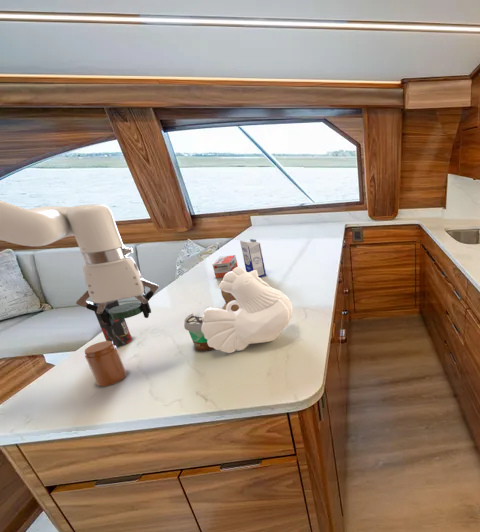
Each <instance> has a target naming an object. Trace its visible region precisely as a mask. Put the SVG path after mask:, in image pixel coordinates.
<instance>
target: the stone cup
mask: <svg viewBox="0 0 480 532" xmlns="http://www.w3.org/2000/svg"><path fill="white" fill-rule="evenodd" d="M222 281H223V278H222V279H221V280H220V283H221V282H222ZM220 292H221V296H222V298H223V300H224V302H225V303H224V304H223V306H222V307H221V309H224V310H226V306H227V304H228V303H229V302H231V301H233V300H236V299H235V298H234V296H233V295H232V294H231V293H228V292H224V291H222V290H221V289H220ZM238 309H239V306H238V305H236V304H234V305H232V306H231V310H232V311H237V310H238Z"/></svg>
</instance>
